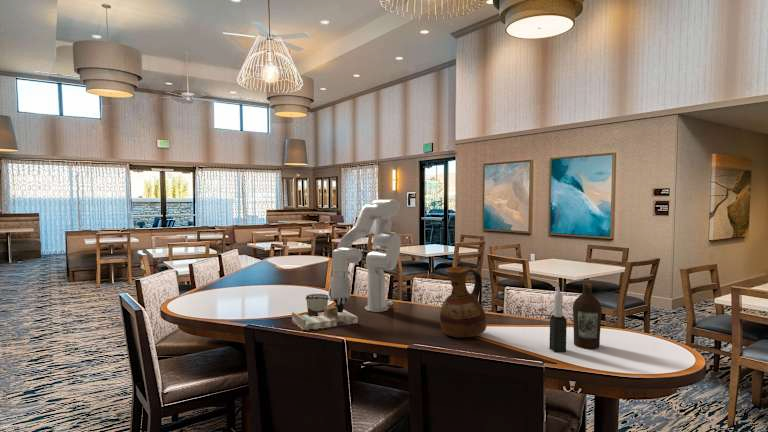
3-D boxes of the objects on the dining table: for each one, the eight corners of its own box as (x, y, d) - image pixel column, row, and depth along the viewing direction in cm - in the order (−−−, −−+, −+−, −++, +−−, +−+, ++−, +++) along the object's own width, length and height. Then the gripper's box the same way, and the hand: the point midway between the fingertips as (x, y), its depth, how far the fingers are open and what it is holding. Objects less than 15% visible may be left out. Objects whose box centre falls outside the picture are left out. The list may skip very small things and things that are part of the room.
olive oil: (571, 340, 181) (572, 281, 180) (599, 343, 177) (600, 282, 176) (572, 347, 171) (573, 285, 170) (602, 351, 167) (603, 287, 166)
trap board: (343, 315, 219) (343, 305, 219) (357, 322, 205) (357, 312, 205) (292, 322, 205) (292, 312, 205) (303, 331, 192) (303, 319, 192)
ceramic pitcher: (431, 331, 193) (432, 264, 192) (469, 326, 201) (469, 262, 200) (455, 344, 175) (456, 271, 174) (495, 338, 183) (496, 268, 182)
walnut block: (333, 313, 211) (333, 305, 210) (337, 316, 206) (337, 307, 206) (324, 314, 208) (324, 306, 208) (327, 317, 204) (327, 309, 204)
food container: (331, 312, 224) (331, 293, 224) (328, 315, 218) (329, 296, 218) (308, 312, 225) (308, 293, 225) (305, 315, 219) (305, 295, 219)
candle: (548, 348, 170) (549, 285, 169) (560, 347, 171) (561, 285, 170) (554, 352, 165) (555, 288, 164) (567, 352, 165) (568, 287, 165)
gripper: (350, 272, 216) (350, 308, 216) (322, 274, 208) (322, 312, 209) (357, 274, 209) (357, 311, 210) (328, 276, 202) (328, 315, 202)
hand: (339, 311), depth 209 cm, fingers closed
